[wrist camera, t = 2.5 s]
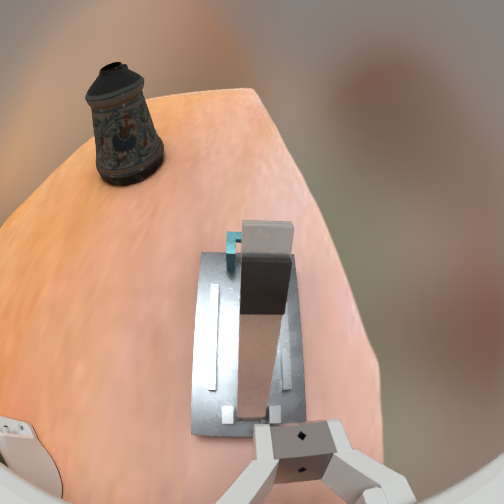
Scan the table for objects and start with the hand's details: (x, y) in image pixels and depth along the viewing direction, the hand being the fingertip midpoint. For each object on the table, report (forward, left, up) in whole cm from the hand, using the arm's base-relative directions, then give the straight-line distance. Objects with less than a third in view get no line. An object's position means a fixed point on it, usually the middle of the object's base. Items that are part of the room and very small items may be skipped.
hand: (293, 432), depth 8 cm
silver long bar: (0, +6, -13) cm, 14 cm away
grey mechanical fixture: (0, +10, -29) cm, 30 cm away
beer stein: (-28, +51, -29) cm, 65 cm away
